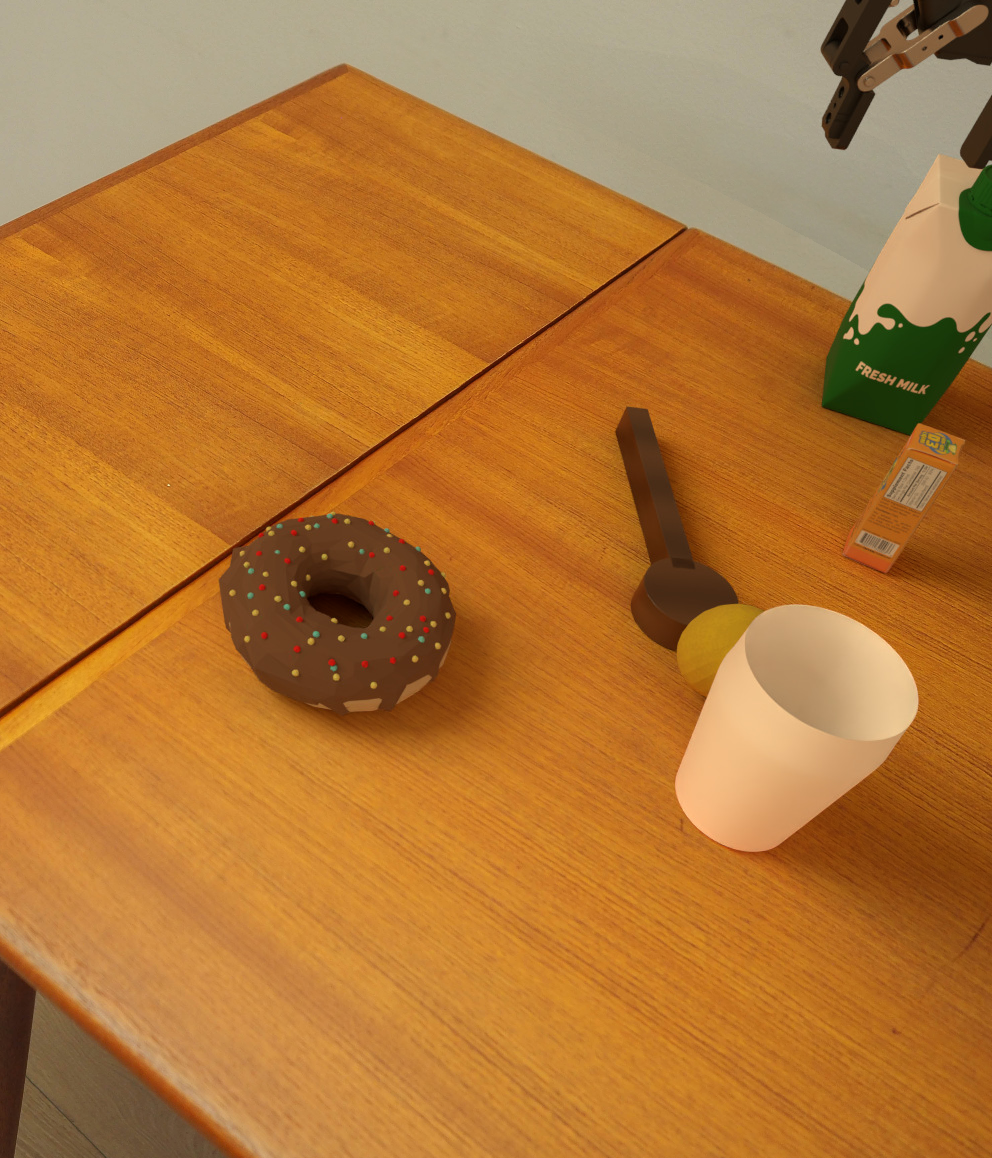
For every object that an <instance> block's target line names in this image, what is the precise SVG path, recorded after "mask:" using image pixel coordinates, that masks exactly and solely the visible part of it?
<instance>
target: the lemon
mask: <svg viewBox="0 0 992 1158" xmlns="http://www.w3.org/2000/svg"><path fill="white" fill-rule="evenodd" d="M765 611H766V610H763V609H761V608H759V607H756V606H754V605H750V604H744V603H739V604H729V605H721V606H717V607H715V608H712V609H709V610H707V611H704V612H703V613H701V614H700V615H699V616H697V617H696V618H695V619H693V620H692V621H691V622H690V623H689V624H688V626H687V627H686V628H685V630H684V631H683V632H682V634H681V637H680V639H679V642H678V645H677V651H676V663H677V667H678V670H679V672H680V675H681V677H682V678H683V680H684V681H685V682H686V684H687V685H688V686H689V687H690V688H691V689H692V690H693V691H694V692H696V693H697V694H699V695H701V696H703V697H705V698H707V696H708V694H709V691H710V689H711V686H712V684H713V681H714V679H715V676H716V674H717V671H718V669H719V667H720V665H721V663H722V661H723V659H724V658H725V656H726V655H727V653H728V652H729V651H730V650H731V649H732V648H733V647H734V646H735V644H736V643H737V642H738V640H739V639H740V638H741V636H742V635H743V634H744V632H745V631H746V630H747V628H748V627H749V626H750V624H751V623H752V622H753V620H754V619H755V618H756V617H757V616H759V615H760V614H761V613H763V612H765Z"/></svg>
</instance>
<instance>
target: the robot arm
mask: <svg viewBox="0 0 992 1158" xmlns="http://www.w3.org/2000/svg"><path fill="white" fill-rule="evenodd" d="M899 4H900V0H845V1H844V3H843V4H842V6H841V8H840V9H839V12H838V13H837V16H836V18H835V19H834V21H833V23H832V25H831V26H830V28H829V31H828V32H827V34H826V36H825V38H824V39H823V42H822V44H821V46H820V54H821V55H822V57H823V58H824V60H825V61H826V63H827V65H828V66H829V68H830V70H831V71H832V73H833V74H834V75H835V76H837V77H841V79H840V81H839V83H838V85H837V87H836V89H835V91H834V93H833V95H832V97H831V98H830V101H829V103H828V105H827V108H826V109H825V111H824V114H823V115H822V117H821V128H822V129H823V131H824V138H825V139H826V141H827V143H828V144H829V146H830V149H833V150H841V151H846V150H847V149H848V148H849V146H850V145H851V143H852V141H853V138H854V136H855V134H856V133H857V131H858V129H859V127H860V125H861V124H862V121H863V120H864V117H865V116H866V113H867V111H868V110H869V108H870V106H871V104H872V102H873V100H874V98H875V97H876V92H875V90H874V89H876V88H877V87H878V86H880V85H882V84H883V83H884V82H886V81H887V80H889V79H890V78H892V77H893V76H894V75H896V74H897V73H898V72H900V71H903V70H909V69H913V68H915V67H916V66H918V65H919V64H921V63H922V62H924V61H925V60H927V59H928V58H929V57H931V56H932V55H934V57H935V58H936V59H939V60H944V61H946V60H947V61H958V60H967V61H969V62H972V63H974V64H976V65H981V66H987V67H990V66H991V65H992V0H912V4H911V5H909V6H908V7H907V8H905V9H904V10H903V11H901V12H900V13H898V14H897V15H895V17H893V18H891V20H889V21H888V22H886V23H885V24H884V25H882V27H881V28H880V31H879V33H878V34H877V35H876V36H875V37H873V35H874V34H875V32H876V30H877V28H878V26H879V24H880V23H881V21H882V19H883V18H884V16H885V14H886V12H887V11H888V9H889V8H895V7H897V6H899ZM915 31H917V33H918V35H917V36H916V37H914V38H912V39H908V38H909V36H910V35H911V34H912V33H914V32H915ZM872 37H873V38H872ZM959 156H960V158H961V160H962V161H964V162H965V163H966V165H967V166H968V167H969V168H975V169H983V168H985V167H986V166H988V164H989V162H990V161H991V162H992V94H991V95H990V96H989V99H988V100H987V102H986V104H985V105H984V107H983V108H982V110H981V112H980V114H979V115H978V117H977V119H976V120H975V122H974V124H973V125H972V128H971V129H970V131H969V132H968V133H967V136H966V137H965V139H964V140H963V143H962V144H961V146H960V149H959Z"/></svg>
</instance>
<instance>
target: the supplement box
mask: <svg viewBox="0 0 992 1158" xmlns="http://www.w3.org/2000/svg"><path fill="white" fill-rule="evenodd" d="M965 444H966V439H964V438H961V437H959V436H956V435H953V434H950V433H948V432H945V431H943V430H940V429H938V428H934V427H932V426H928V425H926V424H923V423H921V424H920V423H918V424H917V426H916V427H915V429H914V431H913V433H912V434H911V435H909V438H908V439H907V440H906V443H905V444H904V446H903V447H902V449H901V451H900V452H899V454H898V455H897V456H896V458H895V460H894V461H893V462H892V464H891V466H890V467H889V469H888V471H887V473H886V474H885V476H884V477H883V479H882V480H881V482H880V484H879V485H878V487H877V489H876V490H875V491H874V493H873V495H872V496H871V498H870V500H869V501H868V502H867V505H866V506H865V507H864V509H863V511H862V512H861V514H860V515H859V517H858V518H857V520H856V522H855V523H854V524H853V527H851V529H850V531H849V532H848V535H847V538H846V541H845V544H844V547H843V550H842V553H841V554H842V556H844V557H846V558H847V559H850V560H852V561H855V562H857V563H859V564H861V565H864V566H867V567H869V568H871V569H873V570H876V571H878V572H881V573H884V574H887V573H888V572H889V571H890V570H891V569H892V567H893V566H894V564H895V563H896V562H897V560H898V558H899V557H900V555H901V553H902V552H903V551H904V549H905V548H906V546H907V545H908V543H909V542H910V540H911V539H912V537H913V536H914V534H915V533H916V531H917V529H918V528H919V526H920V525H921V524H922V522H923V520H924V519H925V518H926V516H927V514H928V513H929V511H930V510H931V508H932V507H933V505H934V503H935V502H936V500H937V499H938V497H939V496H940V494H941V493H942V491H943V489H944V488H945V487H946V485H947V483H948V482H949V480H950V479H951V477H952V475H953V473H954V472H955V471H956V469H957V467H958V465H960V456H961V453H962V450H963V448H964V446H965Z"/></svg>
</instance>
